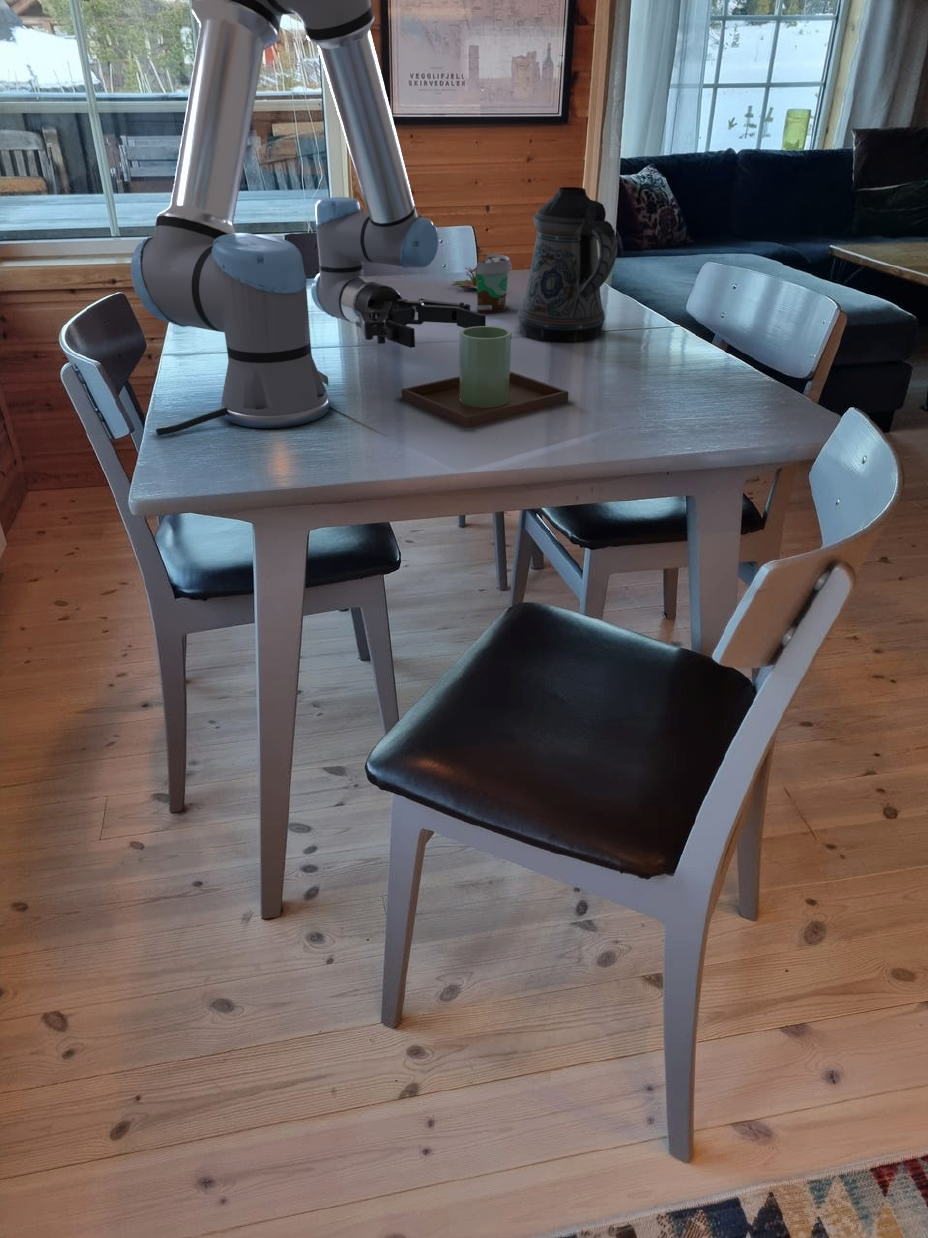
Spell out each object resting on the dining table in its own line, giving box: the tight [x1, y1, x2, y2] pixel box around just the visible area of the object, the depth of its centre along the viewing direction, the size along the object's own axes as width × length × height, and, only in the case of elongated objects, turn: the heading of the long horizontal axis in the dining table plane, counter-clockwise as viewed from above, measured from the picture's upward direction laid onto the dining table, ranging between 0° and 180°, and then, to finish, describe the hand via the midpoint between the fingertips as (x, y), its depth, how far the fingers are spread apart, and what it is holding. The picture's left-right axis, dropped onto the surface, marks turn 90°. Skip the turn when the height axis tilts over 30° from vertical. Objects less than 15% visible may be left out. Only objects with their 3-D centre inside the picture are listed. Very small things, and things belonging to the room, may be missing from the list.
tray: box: [400, 370, 569, 429], centre depth 131 cm, size 19×16×2 cm
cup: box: [459, 325, 512, 408], centre depth 129 cm, size 7×7×10 cm
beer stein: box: [517, 186, 618, 343], centre depth 161 cm, size 16×19×25 cm
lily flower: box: [450, 266, 477, 290], centre depth 202 cm, size 12×12×5 cm
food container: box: [476, 253, 513, 315], centre depth 182 cm, size 12×6×10 cm, turn 168°
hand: (449, 331), depth 133 cm, fingers open, 13 cm apart
